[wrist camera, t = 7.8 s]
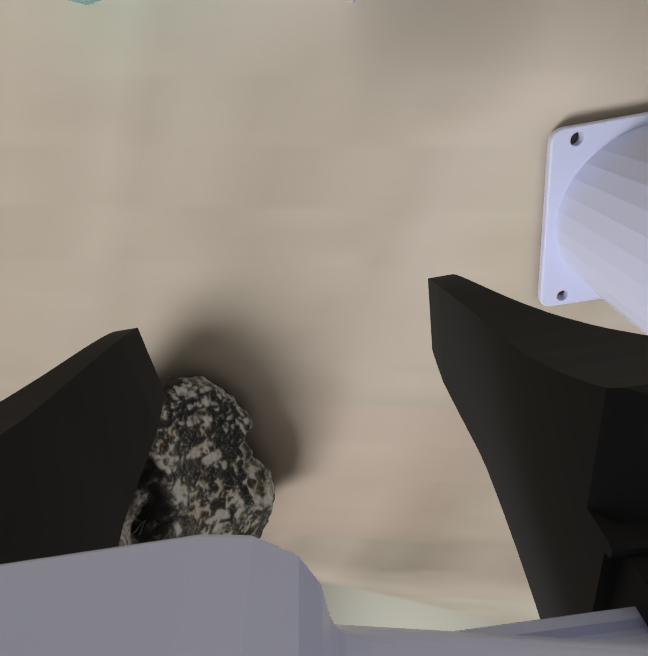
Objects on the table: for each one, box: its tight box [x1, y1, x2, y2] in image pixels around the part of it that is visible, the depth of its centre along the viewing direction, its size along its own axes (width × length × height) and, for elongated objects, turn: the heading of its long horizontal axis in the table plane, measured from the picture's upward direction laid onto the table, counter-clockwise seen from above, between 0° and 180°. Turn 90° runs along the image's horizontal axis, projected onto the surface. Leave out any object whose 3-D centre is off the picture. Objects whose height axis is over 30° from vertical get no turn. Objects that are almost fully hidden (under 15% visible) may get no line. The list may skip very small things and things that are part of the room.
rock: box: [118, 376, 275, 547], centre depth 26 cm, size 13×10×10 cm
